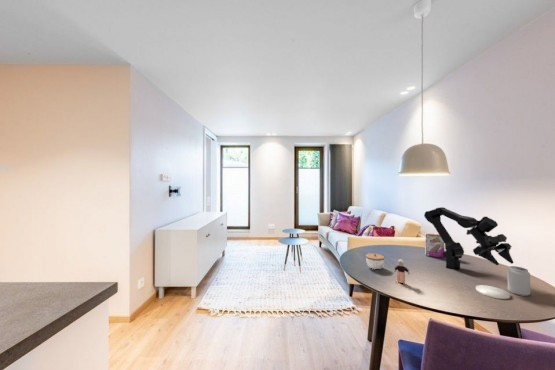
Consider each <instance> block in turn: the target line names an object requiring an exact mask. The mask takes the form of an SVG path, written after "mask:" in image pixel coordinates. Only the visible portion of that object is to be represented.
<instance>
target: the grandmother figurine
mask: <svg viewBox="0 0 555 370" xmlns="http://www.w3.org/2000/svg"><path fill="white" fill-rule="evenodd" d="M397 264H398V265H396V266H395V267H394V269H393V273H397V274H396V281H395V283H396V282H398V283H397V284H401V283H403V284H402V285H406V273H407V274H408V275H410V274H411V273H410V271H409V269H408V268H407V267H406V266H405V264H406V262H405V261H404V259H398V260H397Z"/></svg>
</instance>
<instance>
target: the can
mask: <svg viewBox="0 0 555 370" xmlns="http://www.w3.org/2000/svg"><path fill="white" fill-rule="evenodd" d="M506 272H507V274H506V275H507V290H508V291H509V292H510V293H512V294H514V295H517V296H523V297H527V296H529V295H531V273H530V272H529V270H528V268H524V267H522V266H515V265H512V266H511V265H509V266H508V269H507V271H506Z"/></svg>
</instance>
